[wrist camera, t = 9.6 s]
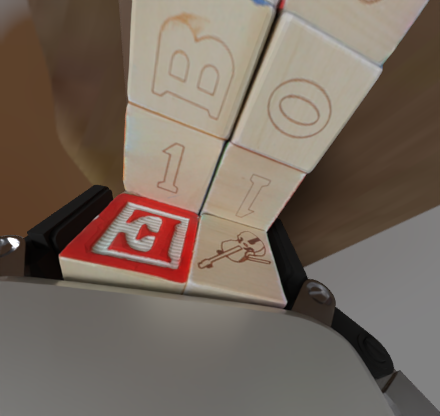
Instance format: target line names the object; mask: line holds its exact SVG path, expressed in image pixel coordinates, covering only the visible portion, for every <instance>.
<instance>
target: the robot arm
mask: <svg viewBox="0 0 440 416" xmlns="http://www.w3.org/2000/svg"><path fill="white" fill-rule="evenodd" d="M111 201H113V196H112V191H111V190H109V188H108V187H106V186H101V185H94V186H92V187H91V188H90V189H88V190H87V191H85V192H84V193H82V194H81V195H79V196H78V197H76V198H75V199H74V200H72V201H71V202H69V203H68V204H67V205H65V206H63V207H62V208H61V209H59V210H58V211H56V212H55V213H53V214H52V215H51V216H49V217H48V218H46V219H45V220H43V221H42V222H41V223H39V224H38V225H36V226H35V227H34V228H32V229H30V230H29V231H28V232H27V234H28V236H27V237H25V238H22V237H21V236H16V235H7V236H0V416H440V412H439V411H438V410H437V408H436V407H435V406H434V405H433V404H432V403H431V402H430V401H429V400H428V399H427V398H426V397H425V396H424V395H423V394H422V393H421V392H420V391H419V390H418V389H417V388H416V387H415V386H414V385H413V383H412V382H411V381H410V380H409V379H408V378H407V377H406V376H405V375H404V374H403V373H402V372H401V371H400V370H399V371H396V370H395V369H394V367H393V362H392V360H391V357H390V355H389V354H388V352H387V351H386V349H385V348H384V347H383V346H382V344H381V343H380V342H379V341H378V340H376V339H375V338H374V337H373V336H372V335H371V334H369V333H368V332H367V331H366V330H364V329H363V328H362V327H360V326H359V325H358V324H357V323H355V322H354V321H353V320H352V319H350V318H349V317H348V316H346V315H345V314H344V313H343V312H341V311H340V310H339V309H338V308H336V307H335V305H336V302H335V298H334V296H333V294H332V293H331V292H330V290H329V289H328V288H327V287H326V286H325V285H323V284H322V283H320V282H318V281H316V280H313V279H308V278H307V276H306V273H305V271H304V268H303V266H302V264H301V262H300V260H299V258H298V256H297V254H296V252H295V249H294V247H293V245H292V243H291V241H290V239H289V237H288V235H287V233H286V230H285V228H284V226H283V224H282V222H281V220H280V219H278V218H276V220H275V221H274V223H273V224H272V226H271V227H270V228H269V230H268V231H267V232H266V233H267V236H268V239H269V243H270V247H271V250H272V254H273V257H274V260H275V264H276V267H277V270H278V273H279V277H280V280H281V284H282V287H283V291H284V294H285V297H286V300H287V304H286V306H285V307H284V308H283V309H280V308H274V307H268V306H261V305H254V304H248V303H240V302H233V301H225V300H217V299H210V298H202V297H195V296H187V295H179V294H171V293H163V292H155V291H147V290H139V289H131V288H123V287H114V286H106V285H98V284H90V283H81V282H73V281H64V278H63V274H62V270H61V266H60V260H59V254H60V253H61V252H62V251H63V250H64V249H65V247H66V246H67V245H68V244H69V243H70V242H71V241H72V240H73V239H74V238H75V237H76V236H77V235H78V234H80V233H81V232H82V230H83V229H84V228H85V227H86V226H87V225H89V224H90V223H91V222H92V220H93V219H94V218H95V217H97V216H98V215H99V214H100V213H101V212H102V211H103V210H104V209H105V208H106V207H107V206H108V205H109V204H110V202H111Z"/></svg>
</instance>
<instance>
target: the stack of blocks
mask: <svg viewBox="0 0 440 416" xmlns="http://www.w3.org/2000/svg"><path fill="white" fill-rule="evenodd" d="M428 1H429V0H132V12H131V31H130V56H129V74H128V90H127V95H128V101H129V102H128V105H127V108H126V114H125V133H124V167H123V182H124V187H125V190H126V191H125V192H123V193H121V194H120V195H118V196H117V197H116V198H115V199H114V200H113V201H111V202H110V204H109V205H108V206H107V207H106V208H105V209H104V210H103V211H102V212H101V213H100V214H99V215H98V216H97V217H95V218H94V219H93V220H92V222H91V223H90V224H89V225H87V226H86V227H85V228H84V229H83V230H82V232H81V233H80V234H78V235H77V236H76V237H75V238H74V239H73V240H72V241H71V242H70V243H69V244H68V245H67V246H66V247H65V249H64V250H63V251H62V252H61V253H60V254H59V260H60V266H61V270H62V274H63V278H64V281H73V282H81V283H90V284H98V285H106V286H114V287H123V288H131V289H139V290H147V291H155V292H163V293H171V294H179V295H187V296H195V297H202V298H210V299H217V300H225V301H233V302H240V303H248V304H254V305H261V306H268V307H274V308H280V309H283V308H284V307H285V306H286V304H287V300H286V297H285V294H284V291H283V287H282V284H281V280H280V277H279V273H278V270H277V267H276V264H275V260H274V257H273V254H272V250H271V247H270V243H269V239H268V236H267V233H266V232H267V231H268V230H269V228H270V227H271V226H272V224H273V223H274V221H275V220H276V218H277V217H278V215H279V214H280V212H281V211H282V210H283V208H284V207H285V205H286V204H287V202H288V201H289V200H290V198H291V197H292V195H293V194H294V192H295V191H296V190H297V188H298V187H299V185H300V184H301V183H302V181H303V180H304V178H305V176H306V175H307V174H308V173H310V172H311V171H312V170H313V169H314V168H315V166H316V165H317V163H318V162H319V161H320V159H321V158H322V156H323V155H324V154H325V152H326V151H327V149H328V148H329V147H330V145H331V144H332V142H333V141H334V140H335V138H336V137H337V135H338V134H339V133H340V131H341V130H342V128H343V127H344V126H345V124H346V123H347V121H348V120H349V119H350V117H351V116H352V114H353V113H354V112H355V110H356V109H357V107H358V106H359V104H360V103H361V102H362V100H363V99H364V97H365V96H366V95H367V93H368V92H369V90H370V89H371V87H372V86H373V85H374V83H375V82H376V80H377V79H378V78H379V76H380V74H381V72H382V65H383V63H384V62H385V61H386V60H387V58H388V57H389V56H390V55H391V54H392V52H393V51H394V50H395V48H396V47H397V46H398V44H399V43H400V41H401V40H402V39H403V37H404V36H405V34H406V33H407V32H408V30H409V29H410V27H411V26H412V25H413V23H414V22H415V20H416V19H417V18H418V16H419V15H420V13H421V12H422V10H423V9H424V7H425V6H426V4H427V3H428Z"/></svg>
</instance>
